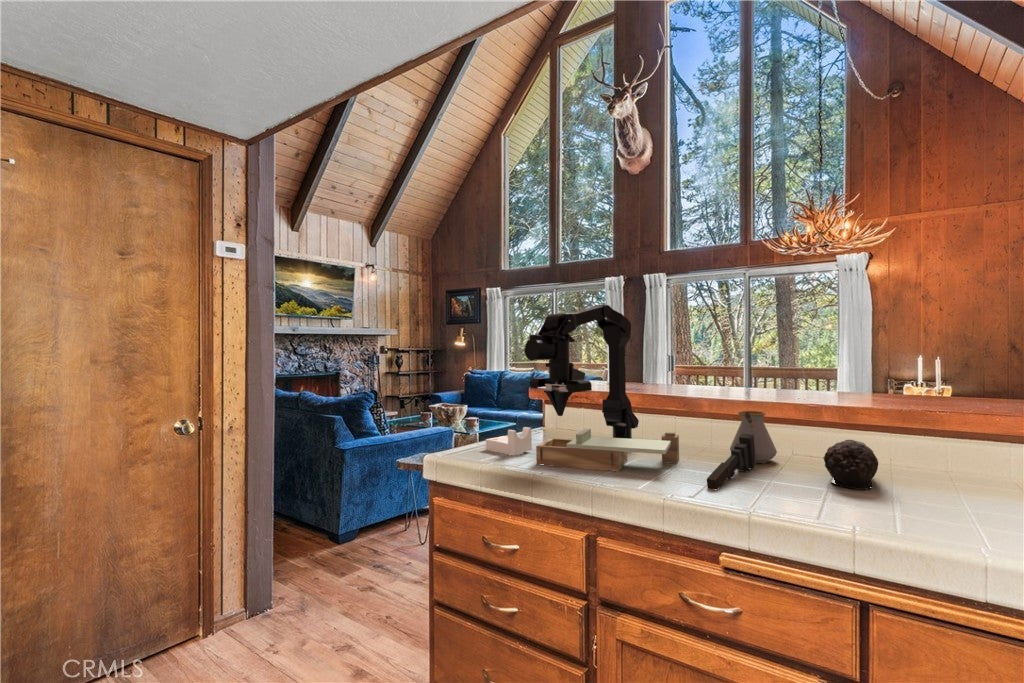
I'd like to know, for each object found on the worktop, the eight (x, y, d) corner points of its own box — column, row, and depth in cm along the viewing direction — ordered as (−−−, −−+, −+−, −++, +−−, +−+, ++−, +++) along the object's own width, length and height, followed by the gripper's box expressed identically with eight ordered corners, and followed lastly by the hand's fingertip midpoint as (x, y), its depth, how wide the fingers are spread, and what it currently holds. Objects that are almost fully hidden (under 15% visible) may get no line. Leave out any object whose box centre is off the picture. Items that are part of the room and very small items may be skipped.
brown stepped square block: (664, 459, 145) (663, 430, 145) (679, 460, 143) (678, 431, 143) (662, 462, 141) (661, 433, 141) (677, 463, 140) (677, 434, 140)
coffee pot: (732, 454, 149) (731, 401, 149) (778, 457, 144) (777, 403, 144) (722, 471, 131) (721, 411, 131) (773, 476, 125) (772, 413, 125)
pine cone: (871, 474, 125) (870, 432, 125) (882, 494, 110) (881, 446, 110) (820, 469, 130) (820, 429, 130) (824, 488, 115) (823, 442, 115)
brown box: (551, 455, 152) (550, 438, 152) (627, 460, 144) (627, 442, 144) (535, 465, 141) (535, 446, 141) (617, 472, 132) (617, 452, 132)
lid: (579, 439, 149) (579, 427, 149) (670, 444, 139) (670, 431, 139) (566, 447, 138) (566, 434, 138) (665, 454, 128) (664, 440, 128)
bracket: (531, 453, 157) (531, 428, 157) (514, 457, 152) (513, 431, 152) (503, 447, 167) (502, 423, 167) (486, 450, 162) (485, 426, 162)
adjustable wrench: (708, 508, 118) (745, 464, 136) (720, 511, 116) (756, 466, 134) (704, 473, 116) (742, 433, 134) (716, 475, 114) (753, 434, 133)
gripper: (604, 358, 143) (605, 416, 143) (555, 357, 157) (556, 409, 157) (576, 360, 136) (577, 420, 136) (528, 359, 150) (529, 413, 150)
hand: (560, 415), depth 145 cm, fingers closed
